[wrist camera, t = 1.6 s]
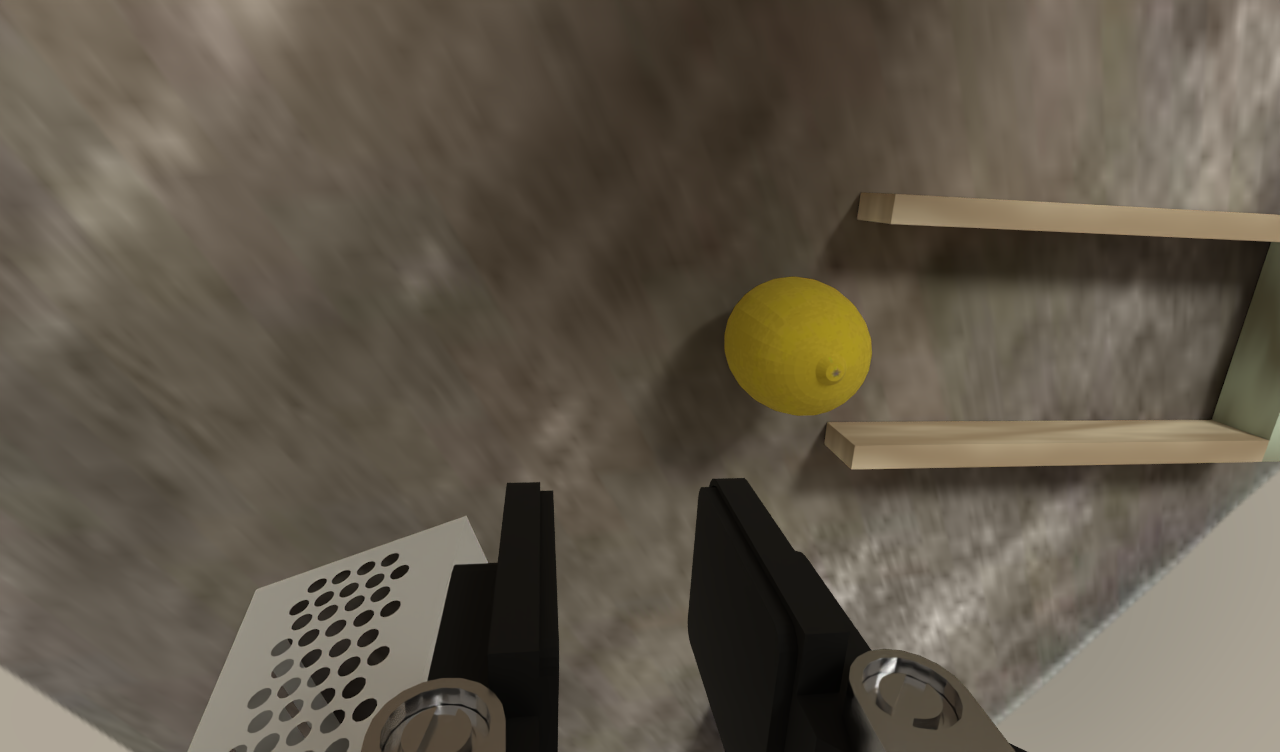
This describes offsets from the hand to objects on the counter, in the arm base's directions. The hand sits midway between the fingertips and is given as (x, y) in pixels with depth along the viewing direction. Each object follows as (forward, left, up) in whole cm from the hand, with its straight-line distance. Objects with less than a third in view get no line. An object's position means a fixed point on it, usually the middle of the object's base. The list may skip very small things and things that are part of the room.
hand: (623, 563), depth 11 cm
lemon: (0, +9, -19) cm, 21 cm away
